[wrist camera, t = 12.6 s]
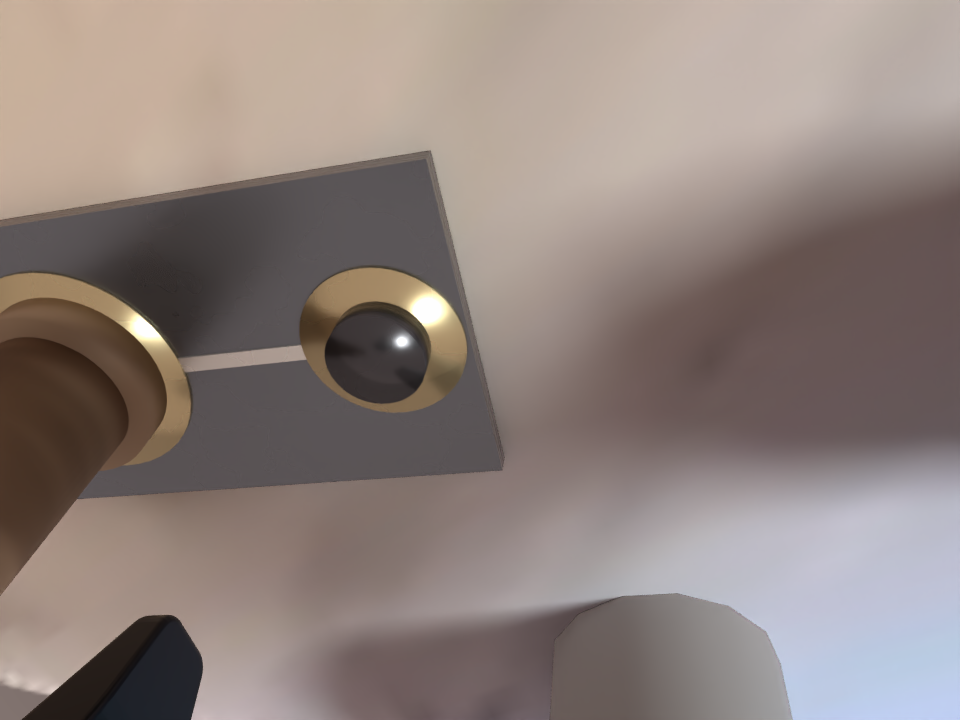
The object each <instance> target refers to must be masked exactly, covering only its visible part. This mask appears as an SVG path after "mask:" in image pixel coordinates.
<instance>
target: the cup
mask: <svg viewBox="0 0 960 720" xmlns="http://www.w3.org/2000/svg"><path fill="white" fill-rule="evenodd" d="M550 720H793V719H792V714H791V709H790V705H789V700H788V696H787V691H786V686H785V682H784V677H783V672H782V668H781V663H780V661H779V659H778V657H777V655H776V652H775V650H774V648H773V646H772V643H771V641H770V639H769V637H768V635H767V632H766V631H764V630H763V629H761V628H760V627H758V626H757V625H756V624H754V623H753V622H751V621H750V620H748V619H747V618H745V617H744V616H742V615H741V614H740V613H738V612H737V611H735V610H734V609H732V608H731V607H729V606H726V605H722V604H718V603H714V602H710V601H706V600H702V599H698V598H694V597H690V596H686V595H682V594H678V593H674V594H655V595H637V596H622V597H619V598H617V599H614V600H612V601H609V602H607V603H604V604H602V605H599V606H597V607H594V608H592V609H589V610H587V611H584V612H582V613H579V614H578V615H577V616H576V617H575V618H574V620H573V621H572V622H571V623H570V624H569V625H568V626H567V627H566V629H565V630H564V631H563V632H562V633H561V634H560V635H559V636H558V637H557V639H556V640H555V641H554V656H553V672H552V689H551V706H550Z"/></svg>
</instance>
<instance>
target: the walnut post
mask: <svg viewBox="0 0 960 720" xmlns="http://www.w3.org/2000/svg"><path fill="white" fill-rule="evenodd" d="M166 407H167V393H166V388H165V383H164V380H163V377H162V375H161V372H160V370H159V368H158V366H157V364H156V363H155V361H154V360H153V358H152V357H151V355H150V354H149V352H148V351H147V350H146V349H145V347H144V346H143V345H142V344H141V343H140V342H139V341H138V340H137V339H136V338H135V337H134V336H133V335H132V334H131V333H130V332H129V331H127V330H126V329H125V328H124V327H123V326H121V325H120V324H118V323H117V322H115V321H114V320H113V319H111V318H109V317H108V316H106V315H104V314H102V313H101V312H99V311H96V310H94V309H92V308H90V307H88V306H85V305H82V304H79V303H76V302H72V301H68V300H64V299H57V298H32V299H27V300H23V301H20V302H17V303H15V304H13V305H11V306H9V307H8V308H7V309H5V310H4V311H3V312H1V313H0V595H1V594H2V593H3V592H4V590H5V589H6V588H7V587H8V585H9V584H10V583H11V582H12V580H13V579H14V578H15V576H16V575H17V574H18V573H19V571H20V570H21V569H22V568H23V566H24V565H25V564H26V563H27V561H28V560H29V559H30V558H31V556H32V555H33V554H34V552H35V551H36V550H37V549H38V547H39V546H40V545H41V544H42V542H43V541H44V540H45V539H46V537H47V536H48V535H49V533H50V532H51V531H52V530H53V528H54V527H55V526H56V525H57V523H58V522H59V521H60V520H61V518H62V517H63V516H64V514H65V513H66V512H67V511H68V509H69V508H70V507H71V506H72V504H73V503H74V502H75V501H76V499H77V498H78V497H79V496H80V494H81V493H82V492H83V490H84V489H85V488H86V487H87V485H88V484H89V483H90V482H91V480H92V479H93V478H94V477H95V475H96V474H97V473H98V471H104V470H110V469H114V468H117V467H120V466H122V465H124V464H126V463H128V462H130V461H131V460H132V459H134V458H135V457H136V456H137V455H138V454H139V452H140V451H141V450H142V449H143V447H144V446H145V445H146V443H147V442H148V441H149V439H150V438H151V437H152V435H153V434H154V433H155V431H156V430H157V429H158V427H159V426H160V424H161V422H162V421H163V419H164V416H165V413H166Z"/></svg>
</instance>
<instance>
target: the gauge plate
mask: <svg viewBox="0 0 960 720" xmlns="http://www.w3.org/2000/svg"><path fill="white" fill-rule="evenodd" d="M32 298H57V299H64V300H68V301H72V302H76V303H79V304H82V305H85V306H88V307H90V308H92V309H94V310H96V311H99V312H101V313H102V314H104V315H106V316H108V317H109V318H111V319H113V320H114V321H115V322H117V323H118V324H120V325H121V326H123V327H124V328H125V329H126V330H127V331H129V332H130V333H131V334H132V335H133V336H134V337H135V338H136V339H137V340H138V341H139V342H140V343H141V344H142V345H143V346H144V347H145V349H146V350H147V351H148V352H149V354H150V355H151V357H152V358H153V360H154V361H155V363H156V364H157V366H158V368H159V370H160V372H161V375H162V377H163V380H164V383H165V388H166V393H167V407H166V413H165V416H164V419H163V421H162V422H161V424H160V426H159V427H158V429H157V430H156V431H155V433H154V434H153V435H152V437H151V438H150V439H149V441H148V442H147V443H146V445H145V446H144V447H143V449H142V450H141V451H140V452H139V454H138V455H137V456H136V457H135V458H134V459H132V460H131V461H130V462H128V463H126V464H124V465H122V466H120V467H117V468H114V469H110V470H104V471H98V473H97V474H96V475H95V477H94V478H93V479H92V480H91V482H90V483H89V484H88V485H87V487H86V488H85V489H84V490H83V492H82V493H81V494H80V496H79V497H78V498H77V499H84V498H99V497H114V496H129V495H144V494H158V493H173V492H188V491H203V490H218V489H233V488H247V487H262V486H277V485H292V484H307V483H322V482H336V481H351V480H366V479H381V478H396V477H411V476H425V475H440V474H455V473H470V472H485V471H500V470H503V463H504V454H503V450H502V446H501V441H500V437H499V433H498V429H497V425H496V421H495V416H494V412H493V408H492V404H491V400H490V396H489V391H488V387H487V383H486V379H485V375H484V371H483V367H482V362H481V358H480V354H479V350H478V346H477V342H476V337H475V333H474V329H473V325H472V321H471V317H470V312H469V308H468V304H467V300H466V296H465V292H464V288H463V283H462V279H461V275H460V271H459V267H458V263H457V258H456V254H455V250H454V246H453V242H452V238H451V233H450V229H449V225H448V221H447V217H446V213H445V208H444V204H443V200H442V196H441V192H440V188H439V184H438V179H437V175H436V171H435V167H434V163H433V159H432V154H431V151H426V152H420V153H413V154H407V155H401V156H395V157H389V158H382V159H376V160H370V161H364V162H358V163H352V164H345V165H339V166H333V167H327V168H321V169H314V170H308V171H302V172H296V173H290V174H283V175H277V176H271V177H265V178H259V179H253V180H246V181H240V182H234V183H228V184H222V185H215V186H209V187H203V188H197V189H191V190H185V191H178V192H172V193H166V194H160V195H154V196H147V197H141V198H135V199H129V200H123V201H117V202H110V203H104V204H98V205H92V206H86V207H79V208H73V209H67V210H61V211H55V212H48V213H42V214H36V215H30V216H24V217H18V218H11V219H5V220H0V313H1V312H3V311H4V310H5V309H7V308H8V307H9V306H11V305H13V304H15V303H17V302H20V301H23V300H27V299H32Z"/></svg>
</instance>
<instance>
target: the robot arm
mask: <svg viewBox="0 0 960 720" xmlns="http://www.w3.org/2000/svg"><path fill="white" fill-rule="evenodd" d="M202 671H203V663H202V657H201V654H200V652H199V651H198V649H197V647H196V646H195V644H194V643H193V641H192V639H191V638H190V636H189V635H188V633H187V631H186V630H185V628H184V626H183V625H182V623H181V622H180V620H179V619H178V618H176V617H175V616H172V615H153V616H145V617H142V618H140V619H138V620H137V621H136V622H134V623H133V624H132V625H131V626H130V627H128V628H127V629H126V630H125V631H124V632H123V633H122V634H120V635H119V636H118V637H117V638H116V639H115V640H113V641H112V642H111V643H110V644H109V645H108V646H106V647H105V648H104V649H103V650H102V651H101V652H99V653H98V654H97V655H96V656H95V657H94V658H93V659H91V660H90V661H89V662H88V663H87V664H86V665H84V666H83V667H82V668H81V669H80V670H79V671H77V672H76V673H75V674H74V675H73V676H72V677H70V678H69V679H68V680H67V681H66V682H65V683H64V684H62V685H61V686H60V687H59V688H58V689H57V690H55V691H54V692H53V693H52V694H51V695H50V696H48V697H47V698H46V699H45V700H44V701H43V702H41V703H40V704H39V705H38V706H37V707H36V708H35V709H33V710H32V711H31V712H30V713H29V714H28V715H26V716H25V717H24V718H23V719H22V720H191V717H192V713H193V710H194V706H195V702H196V698H197V694H198V690H199V686H200V682H201V678H202Z"/></svg>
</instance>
